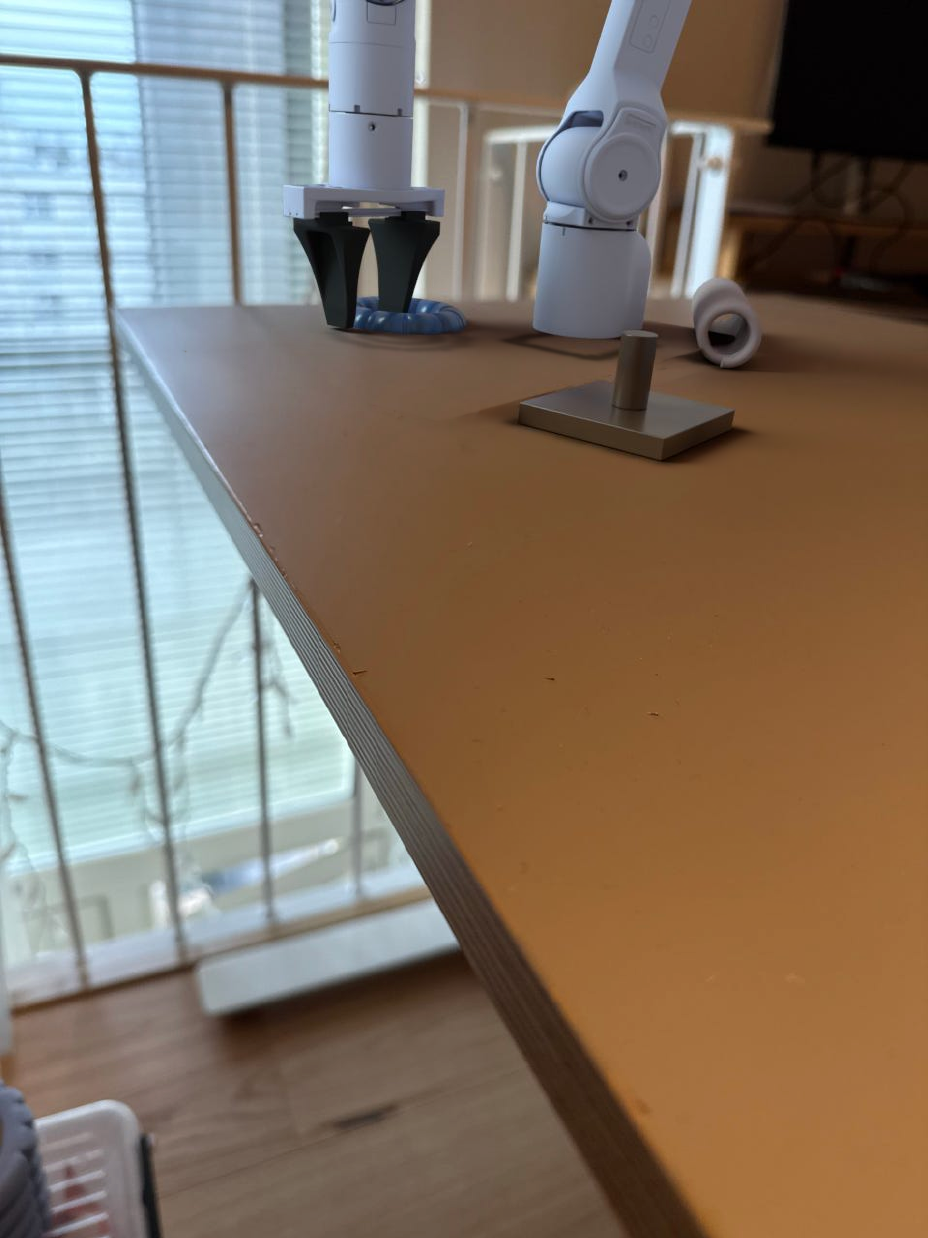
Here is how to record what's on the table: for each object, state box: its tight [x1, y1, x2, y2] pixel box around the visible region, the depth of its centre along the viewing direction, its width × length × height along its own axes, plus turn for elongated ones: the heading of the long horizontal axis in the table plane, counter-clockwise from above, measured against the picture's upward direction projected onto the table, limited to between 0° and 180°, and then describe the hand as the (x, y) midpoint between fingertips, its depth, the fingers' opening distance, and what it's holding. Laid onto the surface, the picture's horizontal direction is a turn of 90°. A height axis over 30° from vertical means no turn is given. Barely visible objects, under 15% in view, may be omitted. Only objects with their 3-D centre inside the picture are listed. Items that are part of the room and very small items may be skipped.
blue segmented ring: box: [353, 295, 467, 335], centre depth 72 cm, size 10×10×2 cm
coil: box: [690, 276, 763, 369], centre depth 77 cm, size 5×5×18 cm
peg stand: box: [517, 329, 736, 461], centre depth 52 cm, size 9×9×5 cm
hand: (367, 322), depth 69 cm, fingers open, 5 cm apart
